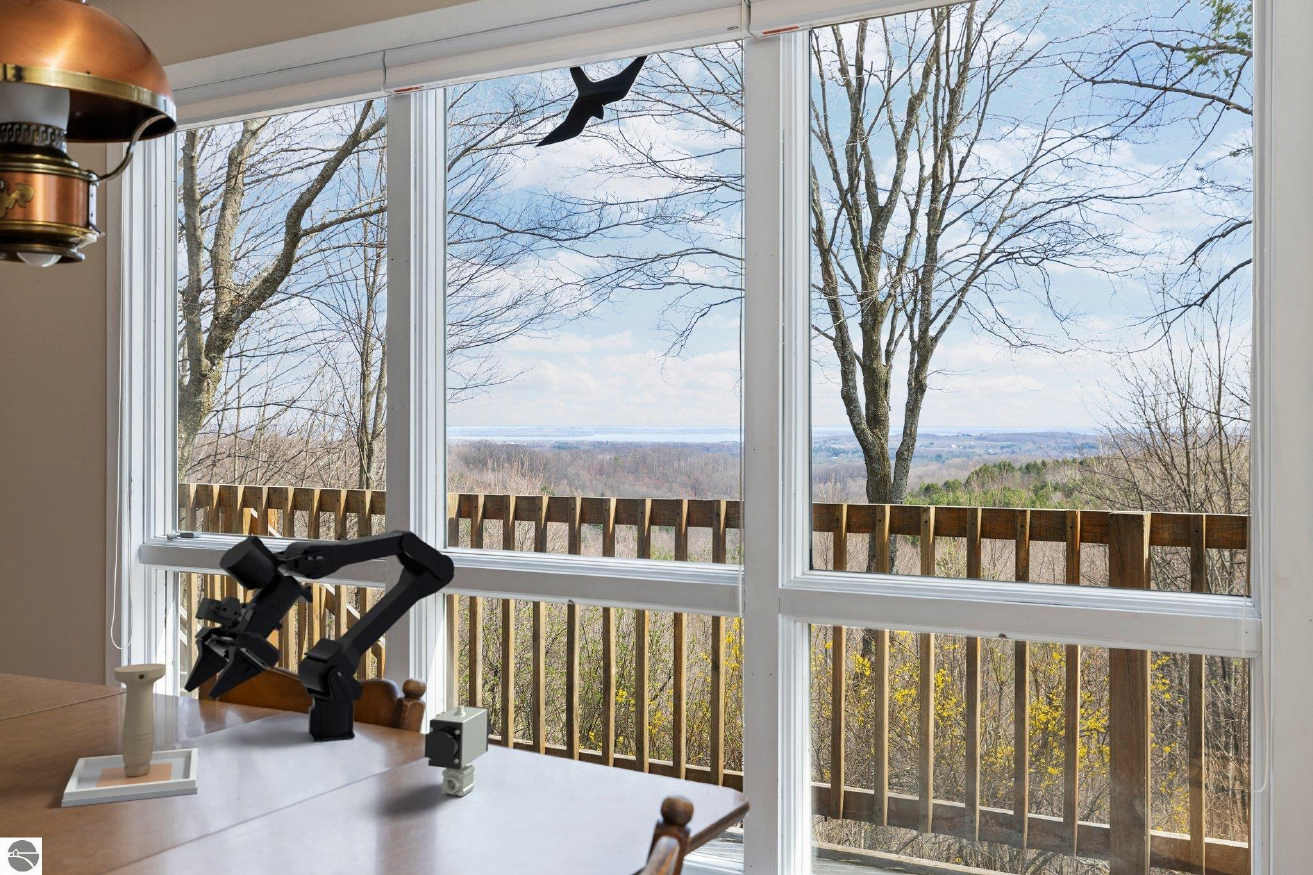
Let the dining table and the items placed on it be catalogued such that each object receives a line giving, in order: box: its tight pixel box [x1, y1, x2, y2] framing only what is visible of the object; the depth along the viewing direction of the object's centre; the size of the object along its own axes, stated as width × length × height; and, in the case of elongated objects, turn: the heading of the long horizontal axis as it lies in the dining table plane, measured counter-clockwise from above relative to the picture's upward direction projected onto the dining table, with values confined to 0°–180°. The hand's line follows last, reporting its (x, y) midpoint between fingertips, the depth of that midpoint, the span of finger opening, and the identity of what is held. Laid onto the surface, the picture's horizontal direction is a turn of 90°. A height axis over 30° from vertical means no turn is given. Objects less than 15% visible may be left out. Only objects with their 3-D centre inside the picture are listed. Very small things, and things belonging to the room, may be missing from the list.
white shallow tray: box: [61, 747, 200, 808], centre depth 140 cm, size 16×16×2 cm
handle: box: [114, 663, 167, 777], centre depth 140 cm, size 5×6×15 cm
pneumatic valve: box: [424, 704, 492, 797], centre depth 139 cm, size 6×12×12 cm, turn 164°
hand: (198, 693), depth 148 cm, fingers open, 9 cm apart
